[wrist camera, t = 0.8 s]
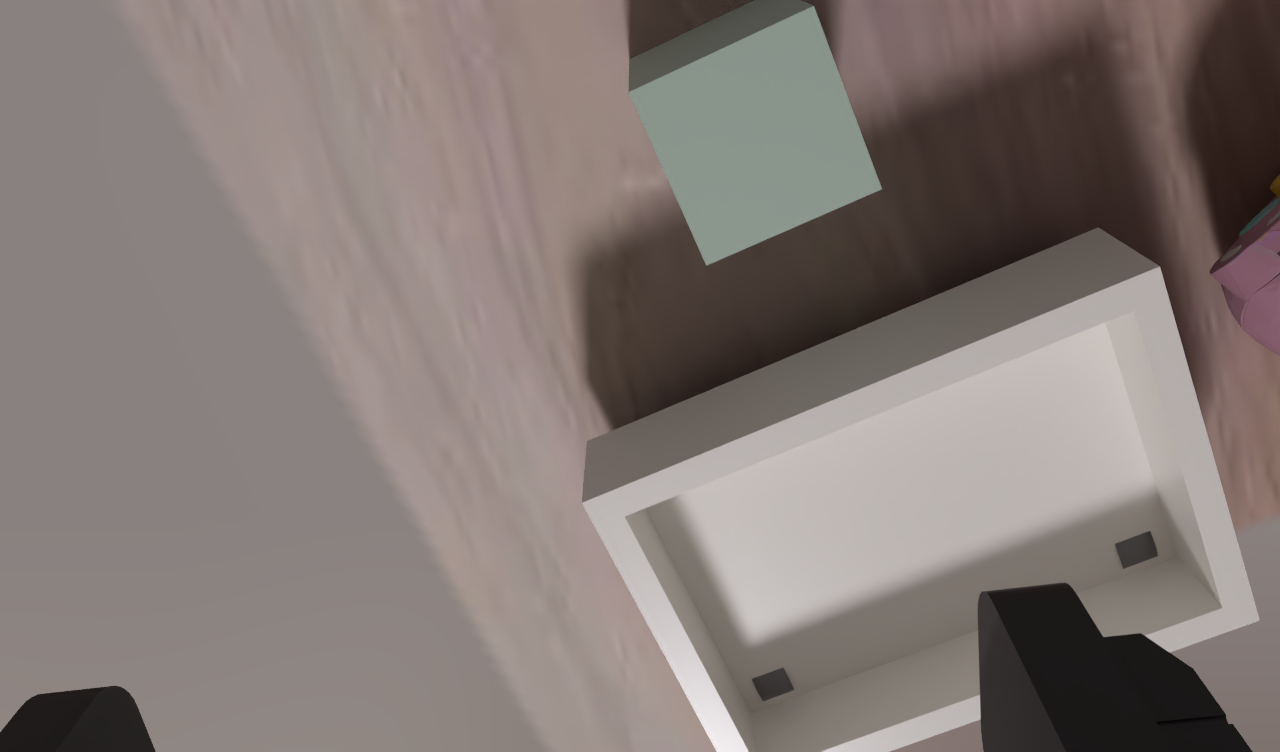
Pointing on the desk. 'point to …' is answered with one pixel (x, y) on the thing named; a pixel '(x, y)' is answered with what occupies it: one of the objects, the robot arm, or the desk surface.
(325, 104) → the desk surface
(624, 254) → the desk surface
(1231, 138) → the desk surface
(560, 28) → the desk surface
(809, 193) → the sage block
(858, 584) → the white planter box
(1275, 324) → the video game controller
